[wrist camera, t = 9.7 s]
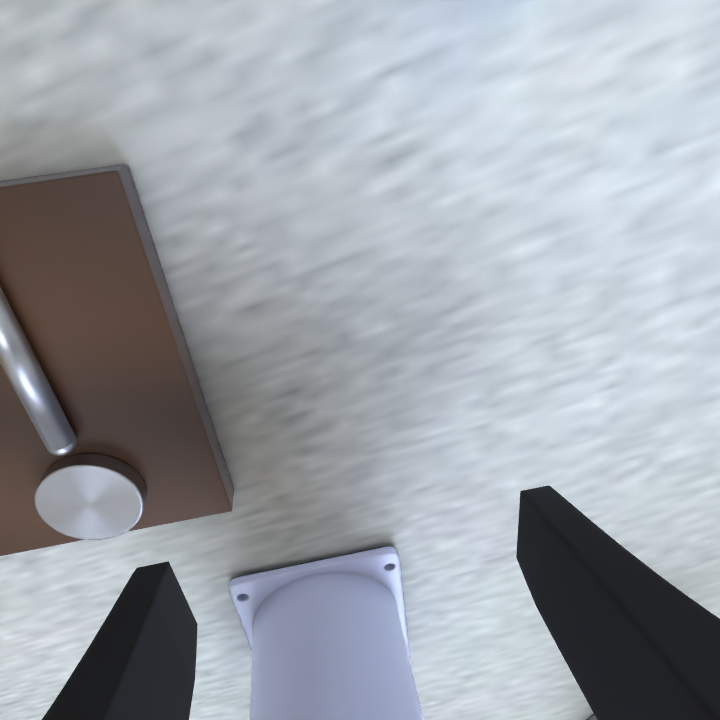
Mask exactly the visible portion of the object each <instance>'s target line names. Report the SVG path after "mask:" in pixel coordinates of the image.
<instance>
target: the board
mask: <svg viewBox="0 0 720 720" xmlns="http://www.w3.org/2000/svg"><path fill="white" fill-rule="evenodd" d="M0 287H1V289H2V291H3V293H4V295H5V297H6V299H7V301H8V303H9V305H10V307H11V309H12V311H13V313H14V315H15V317H16V319H17V321H18V323H19V325H20V327H21V329H22V331H23V333H24V335H25V337H26V339H27V341H28V342H29V344H30V346H31V348H32V350H33V352H34V354H35V356H36V358H37V360H38V362H39V364H40V366H41V368H42V370H43V372H44V374H45V376H46V378H47V380H48V382H49V384H50V386H51V388H52V390H53V392H54V394H55V396H56V398H57V400H58V402H59V404H60V406H61V408H62V410H63V412H64V414H65V416H66V418H67V420H68V422H69V424H70V426H71V428H72V430H73V432H74V434H75V436H76V440H77V443H76V446H75V448H74V449H73V450H72V451H71V452H70V453H68V454H66V455H62V456H58V455H54V454H52V453H50V452H49V451H48V450H47V448H46V446H45V444H44V443H43V441H42V439H41V437H40V435H39V433H38V432H37V430H36V428H35V426H34V424H33V423H32V421H31V419H30V417H29V415H28V413H27V412H26V410H25V408H24V406H23V404H22V402H21V401H20V399H19V397H18V395H17V393H16V392H15V390H14V388H13V386H12V384H11V382H10V381H9V379H8V377H7V375H6V373H5V371H4V370H3V368H2V366H1V364H0V556H3V555H8V554H13V553H18V552H24V551H29V550H34V549H39V548H44V547H49V546H54V545H60V544H65V543H70V542H75V541H80V540H85V539H79V538H74V537H71V536H67V535H65V534H62V533H60V532H58V531H56V530H55V529H53V528H52V527H50V526H49V525H48V524H46V523H45V522H44V521H43V520H42V518H41V517H40V516H39V514H38V512H37V510H36V507H35V502H34V495H35V491H36V488H37V486H38V484H39V482H40V481H41V479H42V477H43V475H44V474H45V472H46V471H47V470H48V469H49V468H50V467H51V466H52V465H53V464H55V463H56V462H58V461H60V460H62V459H64V458H67V457H70V456H74V455H79V454H99V455H105V456H109V457H113V458H115V459H118V460H120V461H122V462H124V463H126V464H128V465H129V466H130V467H132V468H133V469H134V470H135V471H136V472H137V473H138V474H139V475H140V476H141V478H142V479H143V481H144V483H145V486H146V490H147V499H146V503H145V507H144V510H143V513H142V516H141V518H140V519H139V521H138V522H137V523H136V524H135V525H134V526H133V527H132V528H131V529H130V530H128V531H132V530H137V529H142V528H147V527H152V526H157V525H162V524H168V523H173V522H178V521H183V520H188V519H193V518H198V517H204V516H209V515H214V514H219V513H224V512H229V511H232V507H233V495H234V489H233V486H232V483H231V480H230V477H229V474H228V471H227V467H226V464H225V461H224V458H223V455H222V452H221V449H220V446H219V443H218V440H217V437H216V434H215V431H214V428H213V424H212V421H211V418H210V415H209V412H208V409H207V406H206V403H205V400H204V397H203V394H202V391H201V388H200V385H199V381H198V378H197V375H196V372H195V369H194V366H193V363H192V360H191V357H190V354H189V351H188V348H187V345H186V342H185V338H184V335H183V332H182V329H181V326H180V323H179V320H178V317H177V314H176V311H175V308H174V305H173V302H172V299H171V295H170V292H169V289H168V286H167V283H166V280H165V277H164V274H163V271H162V268H161V265H160V262H159V259H158V256H157V252H156V249H155V246H154V243H153V240H152V237H151V234H150V231H149V228H148V225H147V222H146V219H145V216H144V213H143V210H142V206H141V203H140V200H139V197H138V194H137V191H136V188H135V185H134V182H133V179H132V176H131V173H130V170H129V167H128V165H126V164H122V165H115V166H108V167H101V168H94V169H87V170H80V171H73V172H66V173H59V174H52V175H45V176H38V177H31V178H23V179H16V180H9V181H2V182H0Z"/></svg>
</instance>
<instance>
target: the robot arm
mask: <svg viewBox="0 0 720 720" xmlns="http://www.w3.org/2000/svg"><path fill="white" fill-rule="evenodd" d="M517 560H518V562H519V565H520V567H521V570H522V572H523V575H524V578H525V580H526V583H527V585H528V587H529V590H530V592H531V595H532V597H533V599H534V602H535V604H536V606H537V608H538V610H539V612H540V614H541V616H542V618H543V620H544V622H545V624H546V625H547V627H548V629H549V631H550V633H551V635H552V637H553V639H554V640H555V642H556V644H557V646H558V648H559V650H560V652H561V653H562V655H563V657H564V659H565V661H566V663H567V664H568V666H569V668H570V670H571V672H572V674H573V676H574V677H575V679H576V681H577V683H578V685H579V687H580V689H581V690H582V692H583V694H584V696H585V698H586V700H587V702H588V703H589V705H590V707H591V709H592V711H593V713H594V714H595V716H596V718H597V720H720V619H719V618H718V617H716V616H715V615H713V614H712V613H710V612H709V611H708V610H706V609H705V608H703V607H702V606H700V605H699V604H698V603H696V602H695V601H694V600H692V599H691V598H689V597H688V596H687V595H685V594H684V593H682V592H681V591H680V590H678V589H677V588H675V587H674V586H673V585H671V584H670V583H669V582H667V581H666V580H665V579H663V578H662V577H661V576H659V575H658V574H657V573H655V572H654V571H653V570H652V569H650V568H649V567H648V566H646V565H645V564H644V563H643V562H641V561H640V560H639V559H638V558H636V557H635V556H634V555H632V554H631V553H630V552H629V551H627V550H626V549H625V548H624V547H622V546H621V545H620V544H619V543H617V542H616V541H615V540H614V539H612V538H611V537H610V536H609V535H608V534H606V533H605V532H604V531H603V530H602V529H600V528H599V527H598V526H597V525H595V524H594V523H593V522H592V521H591V520H590V519H588V518H587V517H586V516H585V515H584V514H582V513H581V512H580V511H579V510H578V509H577V508H575V507H574V506H573V505H572V504H571V503H570V502H568V501H567V500H566V499H565V498H564V497H562V496H561V495H560V494H559V493H558V492H557V491H555V490H554V489H553V488H552V487H550V486H544V487H539V488H534V489H529V490H524V491H521V493H520V509H519V525H518V541H517ZM229 592H230V595H231V597H232V600H233V603H234V605H235V608H236V610H237V613H238V616H239V618H240V621H241V623H242V626H243V629H244V631H245V634H246V636H247V639H248V642H249V644H250V647H251V649H252V666H251V696H250V720H424V719H423V715H422V710H421V706H420V702H419V698H418V693H417V689H416V685H415V681H414V676H413V672H412V668H411V664H410V651H409V642H408V633H407V624H406V615H405V606H404V597H403V588H402V579H401V571H400V562H399V555H398V552H397V549H395V548H394V547H383V548H378V549H373V550H368V551H364V552H359V553H354V554H349V555H344V556H339V557H334V558H329V559H324V560H320V561H315V562H310V563H305V564H300V565H295V566H290V567H285V568H280V569H275V570H271V571H266V572H261V573H256V574H251V575H246V576H241V577H237V578H235V579H233V580H232V581H231V582H230V587H229ZM196 646H197V622H196V620H195V618H194V616H193V614H192V611H191V609H190V607H189V605H188V603H187V600H186V598H185V596H184V594H183V592H182V590H181V587H180V585H179V583H178V581H177V579H176V576H175V574H174V572H173V570H172V568H171V566H170V563H169V562H164V563H159V564H154V565H149V566H144V567H139V568H137V569H136V570H135V571H134V573H133V574H132V576H131V578H130V579H129V581H128V583H127V584H126V586H125V588H124V589H123V591H122V593H121V595H120V596H119V598H118V600H117V601H116V603H115V605H114V606H113V608H112V610H111V611H110V613H109V615H108V616H107V618H106V620H105V621H104V623H103V625H102V626H101V628H100V630H99V631H98V633H97V635H96V636H95V638H94V640H93V641H92V643H91V645H90V646H89V648H88V649H87V651H86V653H85V654H84V656H83V657H82V659H81V660H80V662H79V664H78V665H77V667H76V668H75V670H74V672H73V673H72V675H71V676H70V678H69V679H68V681H67V683H66V684H65V686H64V687H63V689H62V690H61V692H60V694H59V695H58V697H57V698H56V700H55V701H54V703H53V704H52V706H51V707H50V709H49V710H48V711H47V713H46V714H45V716H44V717H43V719H42V720H189V715H190V708H191V702H192V695H193V688H194V681H195V666H196Z"/></svg>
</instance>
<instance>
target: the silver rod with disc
mask: <svg viewBox="0 0 720 720" xmlns="http://www.w3.org/2000/svg"><path fill="white" fill-rule="evenodd" d="M0 364H1V366H2V368H3V370H4V371H5V373H6V375H7V377H8V379H9V381H10V382H11V384H12V386H13V388H14V390H15V392H16V393H17V395H18V397H19V399H20V401H21V402H22V404H23V406H24V408H25V410H26V412H27V413H28V415H29V417H30V419H31V421H32V423H33V424H34V426H35V428H36V430H37V432H38V433H39V435H40V437H41V439H42V441H43V443H44V444H45V446H46V448H47V450H48V451H49V452H50V453H52V454H54V455H58V456H62V455H66V454H68V453H70V452H71V451H72V450H73V449H74V448H75V446H76V443H77V440H76V436H75V434H74V432H73V430H72V428H71V426H70V424H69V422H68V420H67V418H66V416H65V414H64V412H63V410H62V408H61V406H60V404H59V402H58V400H57V398H56V396H55V394H54V392H53V390H52V388H51V386H50V384H49V382H48V380H47V378H46V376H45V374H44V372H43V370H42V368H41V366H40V364H39V362H38V360H37V358H36V356H35V354H34V352H33V350H32V348H31V346H30V344H29V342H28V341H27V339H26V337H25V335H24V333H23V331H22V329H21V327H20V325H19V323H18V321H17V319H16V317H15V315H14V313H13V311H12V309H11V307H10V305H9V303H8V301H7V299H6V297H5V295H4V293H3V291H2V289H1V287H0ZM146 499H147V490H146V486H145V483H144V481H143V479H142V478H141V476H140V475H139V474H138V473H137V472H136V471H135V470H134V469H133V468H132V467H130V466H129V465H128V464H126V463H124V462H122V461H120V460H118V459H115V458H113V457H109V456H105V455H99V454H79V455H74V456H70V457H67V458H64V459H62V460H60V461H58V462H56V463H55V464H53V465H52V466H51V467H50V468H49V469H48V470H47V471H46V472H45V474H44V475H43V477H42V479H41V481H40V482H39V484H38V486H37V488H36V491H35V495H34V502H35V507H36V510H37V512H38V514H39V516H40V517H41V518H42V520H43V521H44V522H45V523H46V524H48V525H49V526H50V527H52V528H53V529H55V530H56V531H58V532H60V533H62V534H65V535H67V536H71V537H74V538H79V539H86V540H101V539H108V538H112V537H116V536H118V535H121V534H123V533H125V532H127V531H128V530H130V529H131V528H132V527H133V526H134V525H135V524H136V523H137V522H138V521H139V519H140V518H141V516H142V513H143V510H144V507H145V503H146Z"/></svg>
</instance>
